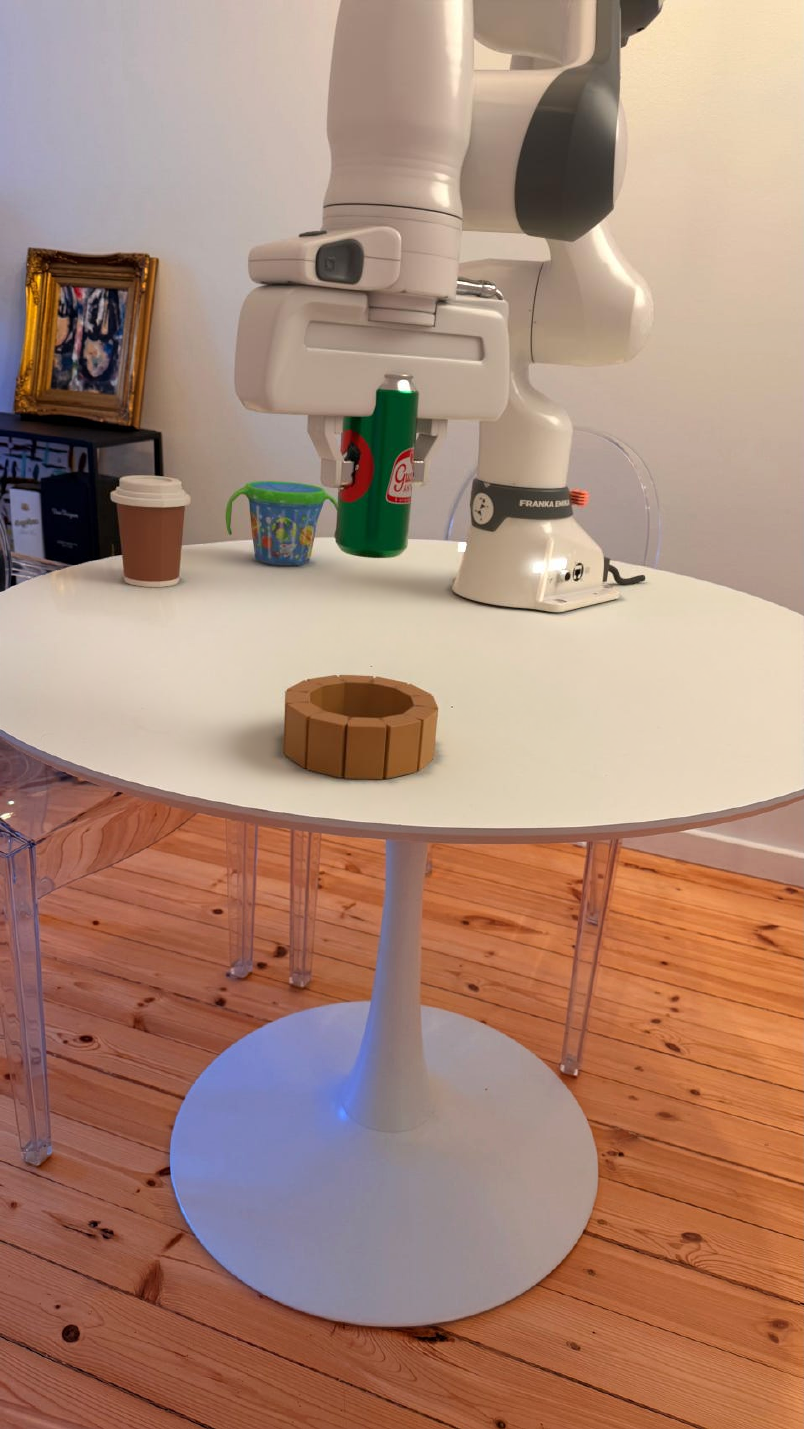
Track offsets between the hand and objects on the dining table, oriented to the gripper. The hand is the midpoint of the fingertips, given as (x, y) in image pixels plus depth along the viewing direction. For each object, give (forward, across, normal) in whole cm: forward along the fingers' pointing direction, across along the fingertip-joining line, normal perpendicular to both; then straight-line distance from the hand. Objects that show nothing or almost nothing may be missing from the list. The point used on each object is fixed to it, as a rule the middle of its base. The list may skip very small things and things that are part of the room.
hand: (374, 486), depth 68 cm
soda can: (+5, 0, 0) cm, 5 cm away
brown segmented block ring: (+20, 0, 0) cm, 20 cm away
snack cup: (+20, -28, -60) cm, 69 cm away
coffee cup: (+20, -7, -55) cm, 59 cm away
